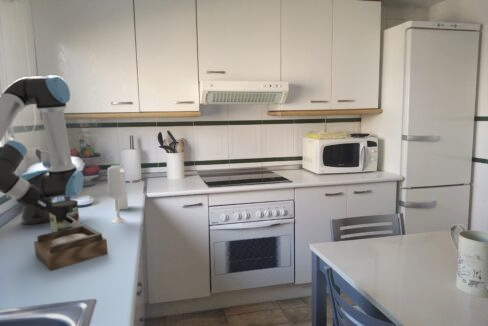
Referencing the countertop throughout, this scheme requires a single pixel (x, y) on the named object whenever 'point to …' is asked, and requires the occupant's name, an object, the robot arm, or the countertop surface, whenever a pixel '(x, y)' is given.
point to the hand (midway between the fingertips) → (73, 223)
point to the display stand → (69, 246)
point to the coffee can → (66, 207)
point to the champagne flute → (115, 190)
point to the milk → (123, 200)
